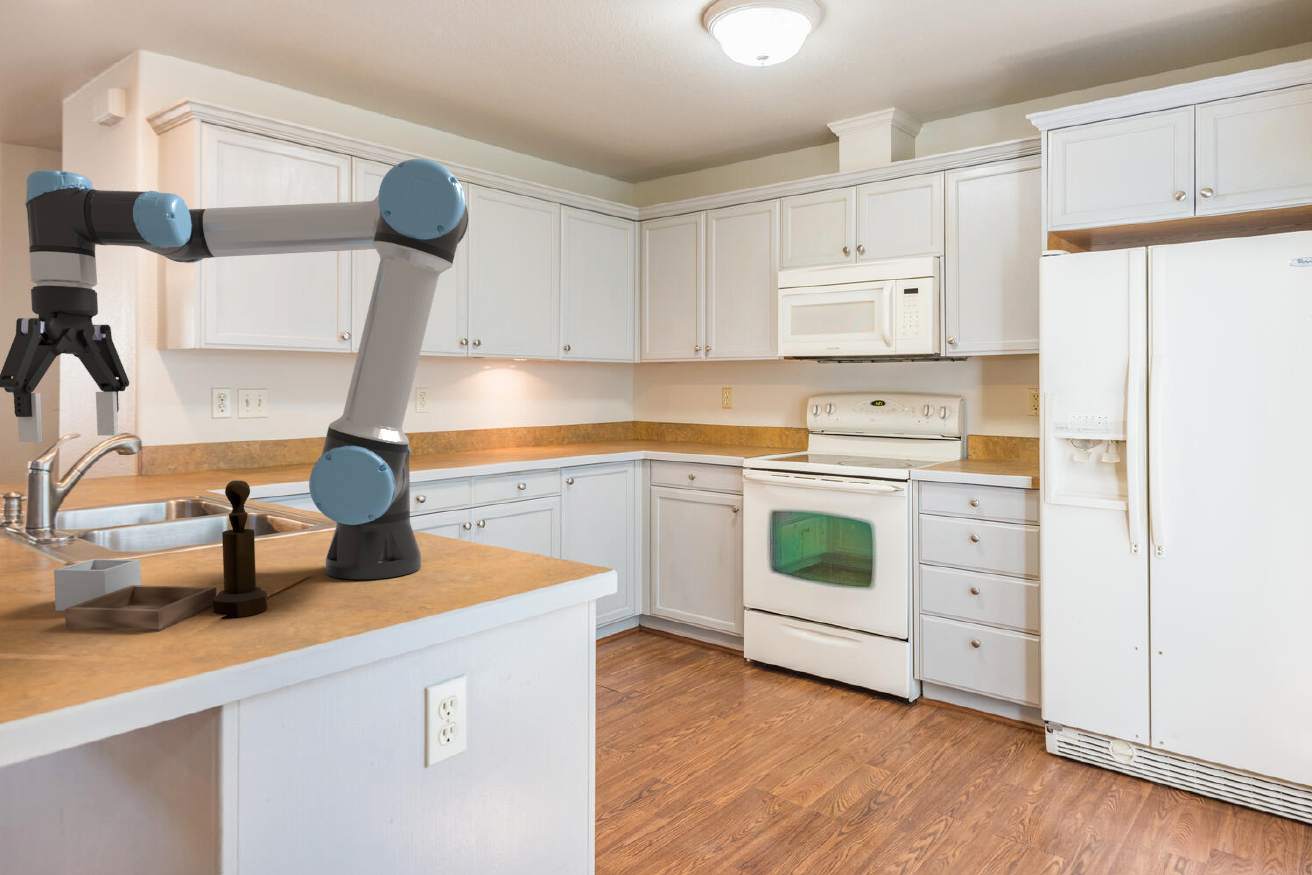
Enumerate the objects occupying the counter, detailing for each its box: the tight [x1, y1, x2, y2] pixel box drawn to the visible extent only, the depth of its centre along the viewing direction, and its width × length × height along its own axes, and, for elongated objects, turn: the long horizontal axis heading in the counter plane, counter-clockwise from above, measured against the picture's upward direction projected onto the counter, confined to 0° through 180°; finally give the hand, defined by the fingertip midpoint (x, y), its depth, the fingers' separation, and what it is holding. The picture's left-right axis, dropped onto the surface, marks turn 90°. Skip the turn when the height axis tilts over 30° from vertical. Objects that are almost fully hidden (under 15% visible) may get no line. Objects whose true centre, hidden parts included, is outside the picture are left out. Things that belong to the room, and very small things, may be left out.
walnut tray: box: [64, 584, 217, 633], centre depth 107 cm, size 12×12×3 cm
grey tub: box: [53, 558, 142, 612], centre depth 112 cm, size 7×7×6 cm
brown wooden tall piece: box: [212, 480, 268, 619], centre depth 111 cm, size 7×6×18 cm
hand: (71, 438), depth 116 cm, fingers open, 13 cm apart
